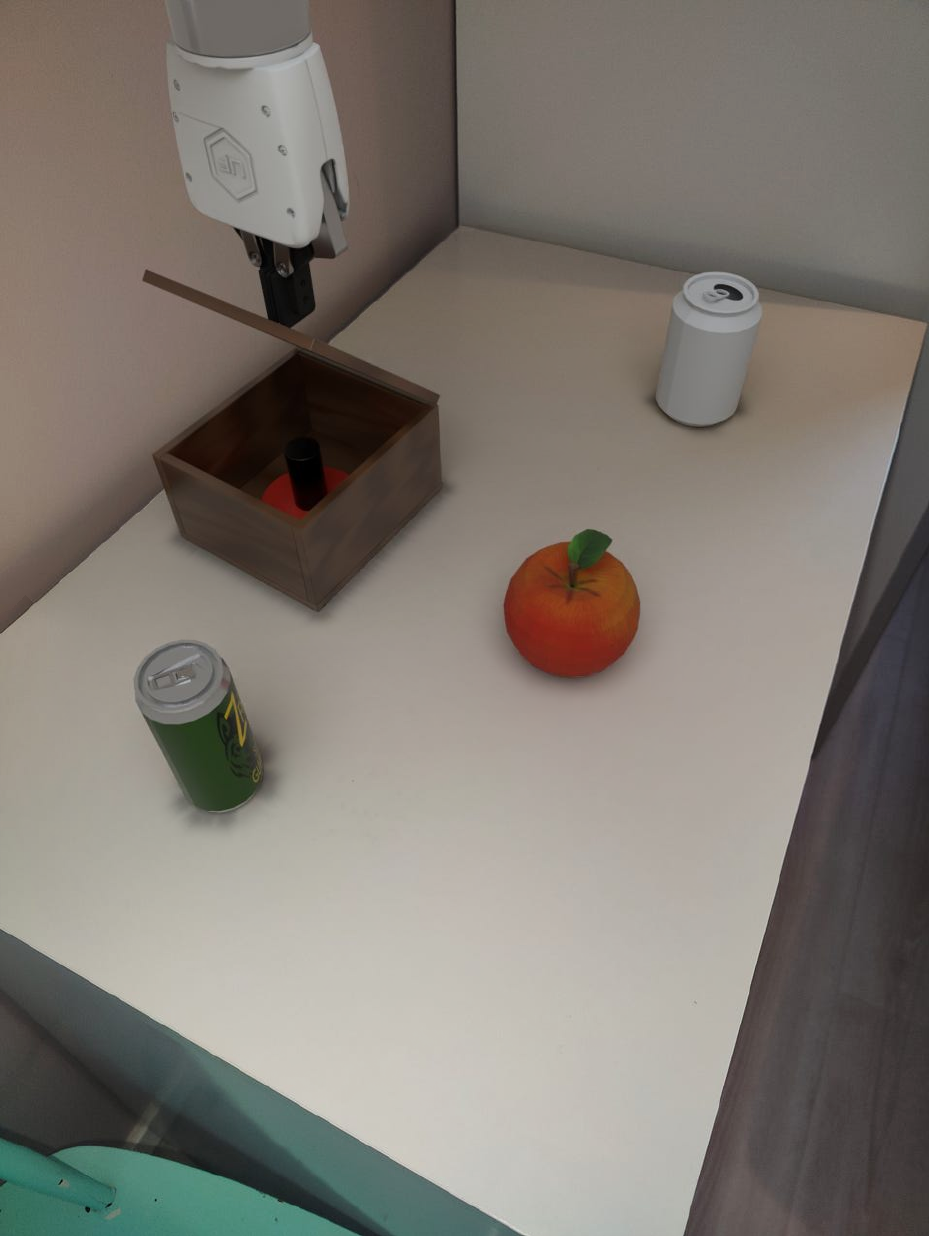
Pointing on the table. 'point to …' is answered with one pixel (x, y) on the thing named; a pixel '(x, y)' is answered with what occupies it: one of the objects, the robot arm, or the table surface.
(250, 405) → the chest
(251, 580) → the table surface
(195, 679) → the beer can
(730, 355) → the can
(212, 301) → the chest lid
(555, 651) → the fruit
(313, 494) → the pot lid
